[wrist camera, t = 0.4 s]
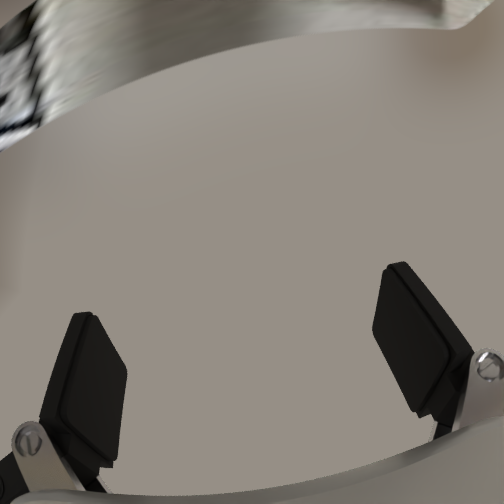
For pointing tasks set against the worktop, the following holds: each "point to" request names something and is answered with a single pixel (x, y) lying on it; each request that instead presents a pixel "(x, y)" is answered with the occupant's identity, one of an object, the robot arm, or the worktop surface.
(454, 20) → the worktop surface
